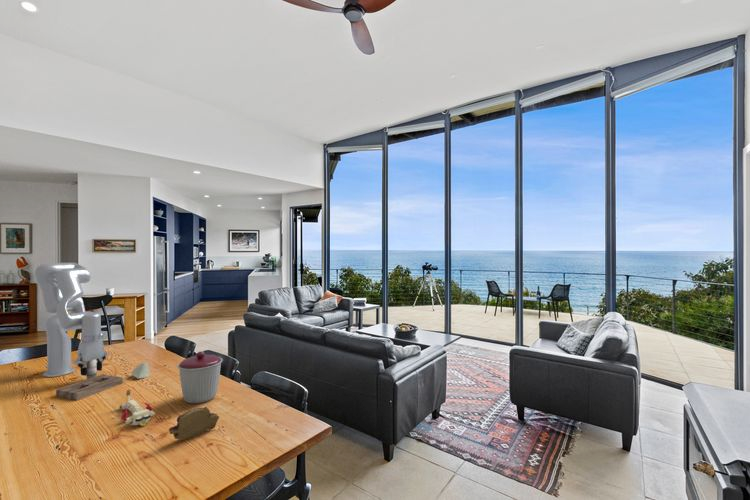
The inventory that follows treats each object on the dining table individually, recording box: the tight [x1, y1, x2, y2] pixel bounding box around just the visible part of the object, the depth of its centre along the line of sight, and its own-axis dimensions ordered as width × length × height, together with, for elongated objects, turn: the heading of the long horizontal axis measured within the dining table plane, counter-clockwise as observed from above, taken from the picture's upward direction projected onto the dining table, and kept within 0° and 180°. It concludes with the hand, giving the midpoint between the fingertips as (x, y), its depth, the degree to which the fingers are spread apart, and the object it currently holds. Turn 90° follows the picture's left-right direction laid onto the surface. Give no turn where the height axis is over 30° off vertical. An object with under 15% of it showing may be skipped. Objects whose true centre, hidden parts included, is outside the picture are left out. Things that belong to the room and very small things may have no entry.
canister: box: [176, 351, 224, 404], centre depth 153 cm, size 18×18×21 cm
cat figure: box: [118, 389, 156, 427], centre depth 137 cm, size 10×9×25 cm
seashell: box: [131, 362, 150, 380], centre depth 179 cm, size 8×8×8 cm
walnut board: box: [55, 374, 123, 401], centre depth 162 cm, size 14×20×3 cm
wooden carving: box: [168, 406, 220, 440], centre depth 122 cm, size 16×5×10 cm, turn 141°
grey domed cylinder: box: [85, 359, 98, 380], centre depth 174 cm, size 4×4×12 cm
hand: (91, 372), depth 174 cm, fingers open, 6 cm apart
